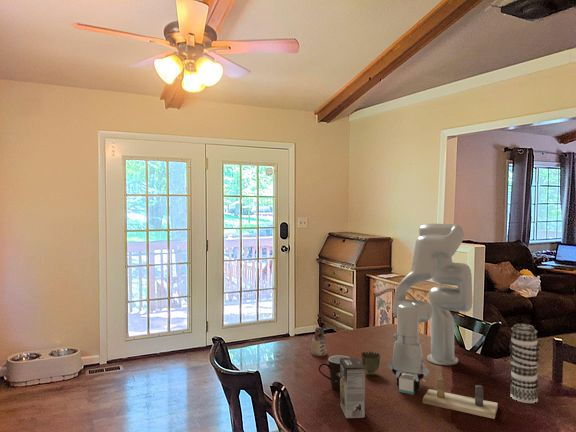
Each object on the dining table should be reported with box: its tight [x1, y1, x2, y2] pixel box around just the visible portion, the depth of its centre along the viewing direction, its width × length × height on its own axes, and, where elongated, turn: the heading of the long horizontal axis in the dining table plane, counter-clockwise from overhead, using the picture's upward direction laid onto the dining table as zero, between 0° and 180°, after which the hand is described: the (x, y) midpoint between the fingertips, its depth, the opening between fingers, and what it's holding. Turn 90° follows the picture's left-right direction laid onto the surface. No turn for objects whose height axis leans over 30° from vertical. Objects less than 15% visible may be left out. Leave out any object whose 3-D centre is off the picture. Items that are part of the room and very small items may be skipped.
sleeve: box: [398, 372, 416, 396], centre depth 158 cm, size 5×5×5 cm
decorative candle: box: [508, 323, 541, 404], centre depth 151 cm, size 9×9×25 cm
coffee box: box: [339, 357, 366, 419], centre depth 142 cm, size 9×6×16 cm
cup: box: [360, 351, 381, 377], centre depth 173 cm, size 8×7×8 cm
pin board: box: [422, 377, 499, 420], centre depth 146 cm, size 9×22×8 cm, turn 59°
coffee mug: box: [318, 355, 351, 391], centre depth 162 cm, size 12×9×10 cm
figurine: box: [310, 326, 328, 357], centre depth 198 cm, size 7×7×12 cm
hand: (408, 388), depth 158 cm, fingers closed on sleeve, 5 cm apart
